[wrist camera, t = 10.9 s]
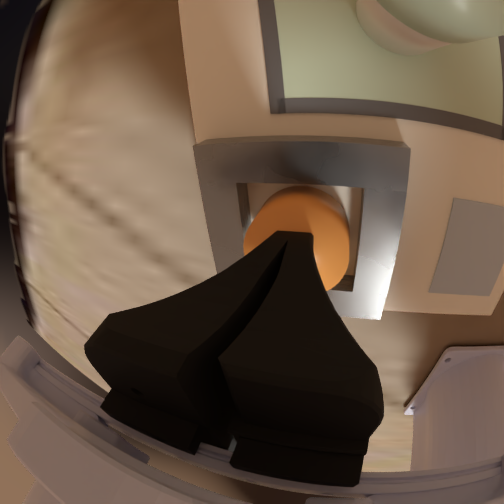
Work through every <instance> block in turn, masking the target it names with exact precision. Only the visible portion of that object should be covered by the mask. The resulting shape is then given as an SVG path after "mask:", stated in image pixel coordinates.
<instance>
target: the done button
mask: <svg viewBox="0 0 504 504" xmlns="http://www.w3.org/2000/svg"><path fill="white" fill-rule="evenodd" d="M277 230H280V231H294V232H309V233H312V235H313V236H314V248H313V251H314V256H315V260H316V264H317V268H318V271H319V274H320V276H321V279H322V282H323V284H324V287H325V289H326V291H328V290H330V289H331V288H333V287H334V286H336V285H337V284H338V283H339V282H340V280H341V279H342V278H343V276H344V275H345V273H346V270H347V268H348V263H349V240H350V227H349V221H348V218H347V215H346V213H345V211H344V210H343V208H342V206H341V205H340V204H339V203H338V202H337V201H336V200H335V199H334V198H333V197H332V196H330V195H329V194H327V193H326V192H324V191H322V190H319V189H316V188H313V187H309V186H292V187H287V188H284V189H282V190H279V191H277V192H276V193H274V194H273V195H272V196H270V197H269V198H268V199H267V201H266V202H265V203H264V205H263V206H262V208H261V209H260V211H259V212H258V214H257V215H256V217H255V218H254V220H253V221H252V223H251V225H250V226H249V228H248V229H247V232H246V234H245V238H244V245H243V247H244V255H247V254H248V253H249V252H251V251H252V250H253V249H254V248H256V247H257V246H258V245H260V244H261V243H262V242H263V241H265V240H266V239H267V238H268V237H269V236H271V235H272V234H273V233H274V232H276V231H277Z"/></svg>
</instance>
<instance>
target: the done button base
mask: <svg viewBox="0 0 504 504" xmlns="http://www.w3.org/2000/svg"><path fill="white" fill-rule="evenodd" d="M193 150H194V156H195V161H196V167H197V173H198V179H199V184H200V190H201V195H202V201H203V206H204V211H205V216H206V222H207V227H208V232H209V237H210V242H211V247H212V251H213V256H214V261H215V266H216V270H217V274H218V273H220V272H222V271H223V270H225V269H226V268H228V267H229V266H231V265H232V264H234V263H235V262H237V261H238V260H239V259H241V258H242V257H244V256H245V255H244V247H243V245H244V238H245V234H246V232H247V229H248V228H249V226H250V225H251V214H250V205H249V197H248V188H247V183H282V184H310V185H329V186H345V187H359V188H362V196H361V210H360V221H359V232H358V241H357V250H356V258H355V266H354V273H353V275H344V276H343V278H342V279H341V280H340V282H339V283H338V284H337V285H336V286H334V287H333V288H331V289H330V290H328V291H326V292H327V294H328V296H329V298H330V300H331V302H332V304H333V306H334V308H335V310H336V311H337V313H338V315H339V316H342V317H353V318H364V319H377V320H380V318H381V315H382V311H383V308H384V304H385V301H386V297H387V293H388V289H389V285H390V281H391V277H392V273H393V268H394V264H395V259H396V255H397V250H398V245H399V239H400V234H401V228H402V222H403V216H404V209H405V202H406V195H407V186H408V177H409V167H410V154H411V148H410V147H409V146H408V145H407V144H405V143H404V142H400V141H391V140H382V139H371V138H358V137H341V136H313V135H277V136H248V137H231V138H217V139H206V140H204V141H202V142H200V143H198V144H196V145H194V146H193Z"/></svg>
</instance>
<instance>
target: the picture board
mask: <svg viewBox="0 0 504 504" xmlns="http://www.w3.org/2000/svg"><path fill="white" fill-rule="evenodd" d="M356 1H357V0H178V5H179V15H180V25H181V34H182V43H183V51H184V59H185V67H186V75H187V82H188V90H189V97H190V104H191V111H192V117H193V124H194V130H195V137H196V143H197V144H198V143H200V142H202V141H204V140H206V139H217V138H231V137H248V136H277V135H313V136H341V137H358V138H371V139H382V140H391V141H400V142H404V143H405V144H407V145H408V146H409V147H410V148H411V154H410V167H409V177H408V186H407V195H406V202H405V209H404V216H403V222H402V228H401V234H400V239H399V245H398V250H397V255H396V259H395V264H394V268H393V273H392V277H391V281H390V285H389V289H388V293H387V297H386V301H385V304H384V308H383V310H388V311H402V312H417V313H436V314H458V315H492V313H493V311H494V309H495V307H496V305H497V303H498V301H499V299H500V297H501V295H502V293H503V291H504V35H502V36H497V37H492V38H487V39H483V40H478V41H474V42H470V43H463V44H455V43H452V44H449V45H446V46H443V47H440V48H437V49H434V50H431V51H429V52H426V53H423V54H420V55H414V56H407V55H400V54H396V53H393V52H391V51H388V50H386V49H385V48H383V47H381V46H380V45H378V44H377V43H375V42H374V41H373V40H372V39H371V38H370V37H369V36H368V35H367V34H366V33H365V31H364V30H363V28H362V27H361V25H360V23H359V21H358V18H357V14H356ZM292 186H309V187H313V188H316V189H319V190H322V191H324V192H326V193H327V194H329V195H330V196H332V197H333V198H334V199H335V200H336V201H337V202H338V203H339V204H340V205H341V206H342V208H343V210H344V211H345V213H346V215H347V218H348V221H349V227H350V240H349V263H348V268H347V270H346V273H345V275H353V273H354V266H355V258H356V250H357V241H358V232H359V221H360V210H361V196H362V188H359V187H345V186H329V185H310V184H282V183H247V188H248V197H249V205H250V214H251V223H252V221H253V220H254V218H255V217H256V215H257V214H258V212H259V211H260V209H261V208H262V206H263V205H264V203H265V202H266V201H267V199H268V198H269V197H270V196H272V195H273V194H274V193H276V192H277V191H279V190H282V189H284V188H287V187H292Z"/></svg>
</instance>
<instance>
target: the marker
mask: <svg viewBox="0 0 504 504" xmlns="http://www.w3.org/2000/svg"><path fill="white" fill-rule="evenodd" d="M356 14H357V18H358V21H359V23H360V25H361V27H362V28H363V30H364V31H365V33H366V34H367V35H368V36H369V37H370V38H371V39H372V40H373V41H374V42H375V43H377V44H378V45H380V46H381V47H383V48H385V49H386V50H388V51H391V52H393V53H396V54H400V55H407V56H414V55H420V54H423V53H426V52H429V51H431V50H434V49H437V48H440V47H443V46H446V45H449V44H452V43H455V44H463V43H470V42H474V41H478V40H483V39H487V38H492V37H497V36H502V35H504V0H357V1H356Z"/></svg>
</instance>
